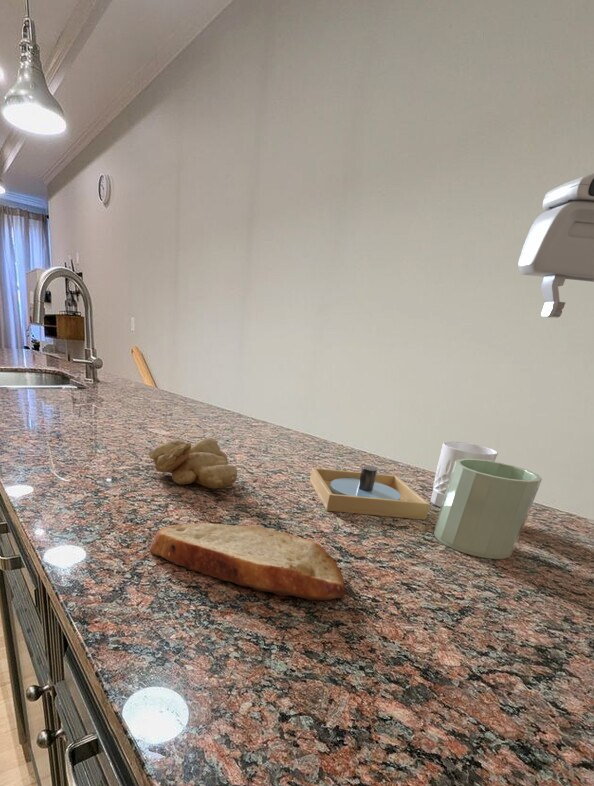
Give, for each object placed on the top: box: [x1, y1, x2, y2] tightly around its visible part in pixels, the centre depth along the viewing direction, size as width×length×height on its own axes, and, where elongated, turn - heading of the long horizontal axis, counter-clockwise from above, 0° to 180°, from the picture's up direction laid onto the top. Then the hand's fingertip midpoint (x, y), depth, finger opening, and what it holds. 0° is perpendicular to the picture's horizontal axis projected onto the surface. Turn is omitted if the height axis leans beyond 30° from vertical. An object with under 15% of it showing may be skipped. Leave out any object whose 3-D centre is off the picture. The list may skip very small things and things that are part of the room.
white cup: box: [430, 441, 499, 508], centre depth 73 cm, size 8×8×10 cm
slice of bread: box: [149, 522, 347, 601], centre depth 48 cm, size 18×18×4 cm
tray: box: [309, 467, 431, 521], centre depth 74 cm, size 15×14×3 cm
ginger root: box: [148, 438, 238, 490], centre depth 75 cm, size 16×16×8 cm
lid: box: [330, 465, 401, 500], centre depth 73 cm, size 11×11×5 cm
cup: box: [433, 459, 543, 560], centre depth 59 cm, size 10×10×10 cm
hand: (585, 320), depth 58 cm, fingers open, 8 cm apart
